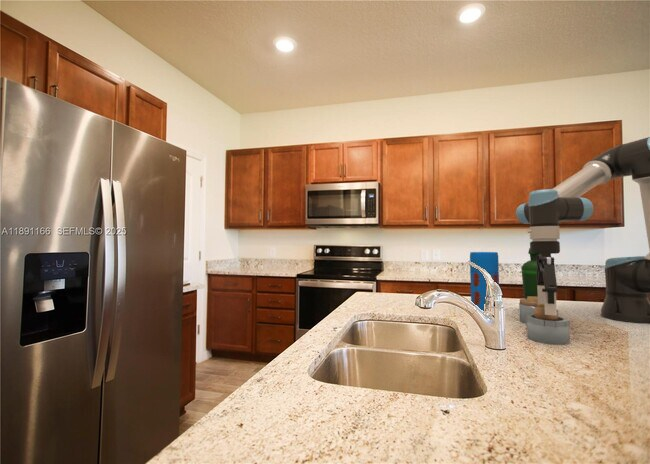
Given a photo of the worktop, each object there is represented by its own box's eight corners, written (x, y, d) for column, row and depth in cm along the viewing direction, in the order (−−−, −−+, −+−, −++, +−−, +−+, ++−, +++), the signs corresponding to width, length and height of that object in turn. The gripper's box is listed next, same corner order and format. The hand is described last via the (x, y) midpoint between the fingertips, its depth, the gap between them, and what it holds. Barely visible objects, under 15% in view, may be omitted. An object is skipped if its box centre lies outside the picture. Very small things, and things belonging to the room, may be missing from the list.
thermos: (488, 315, 128) (486, 253, 128) (465, 310, 137) (464, 252, 138) (505, 312, 133) (503, 252, 133) (482, 307, 142) (480, 251, 143)
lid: (556, 321, 98) (555, 303, 99) (560, 326, 93) (559, 307, 93) (533, 319, 101) (532, 302, 101) (535, 323, 96) (535, 305, 96)
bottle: (553, 313, 130) (551, 244, 131) (555, 319, 121) (553, 245, 122) (522, 310, 136) (520, 244, 136) (522, 315, 127) (520, 245, 127)
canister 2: (565, 336, 99) (564, 315, 100) (573, 346, 90) (572, 323, 90) (525, 332, 104) (524, 312, 104) (529, 341, 95) (528, 319, 95)
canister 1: (540, 319, 121) (539, 294, 121) (554, 325, 112) (553, 299, 112) (515, 318, 122) (514, 294, 122) (527, 324, 113) (526, 298, 113)
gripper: (525, 240, 111) (527, 301, 110) (535, 240, 88) (537, 318, 88) (551, 240, 107) (553, 303, 107) (568, 240, 85) (571, 320, 84)
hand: (546, 310), depth 97 cm, fingers open, 13 cm apart
